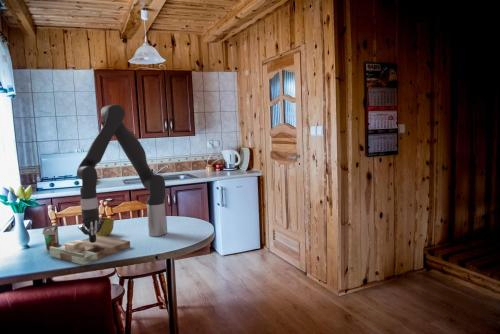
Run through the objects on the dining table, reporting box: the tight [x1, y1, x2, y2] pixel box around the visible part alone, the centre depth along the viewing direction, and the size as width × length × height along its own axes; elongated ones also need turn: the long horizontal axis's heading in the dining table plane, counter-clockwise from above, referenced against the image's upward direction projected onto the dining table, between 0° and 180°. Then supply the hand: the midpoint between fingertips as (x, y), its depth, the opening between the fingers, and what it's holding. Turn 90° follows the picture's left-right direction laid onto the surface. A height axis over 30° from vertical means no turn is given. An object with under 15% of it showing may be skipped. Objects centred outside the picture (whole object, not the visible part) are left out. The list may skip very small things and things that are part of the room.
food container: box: [41, 224, 60, 251], centre depth 185 cm, size 12×6×10 cm, turn 21°
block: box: [64, 239, 85, 252], centre depth 169 cm, size 6×6×4 cm
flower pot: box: [96, 216, 115, 237], centre depth 204 cm, size 9×9×9 cm
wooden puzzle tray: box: [49, 235, 131, 266], centre depth 177 cm, size 26×25×4 cm
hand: (93, 242), depth 178 cm, fingers closed
